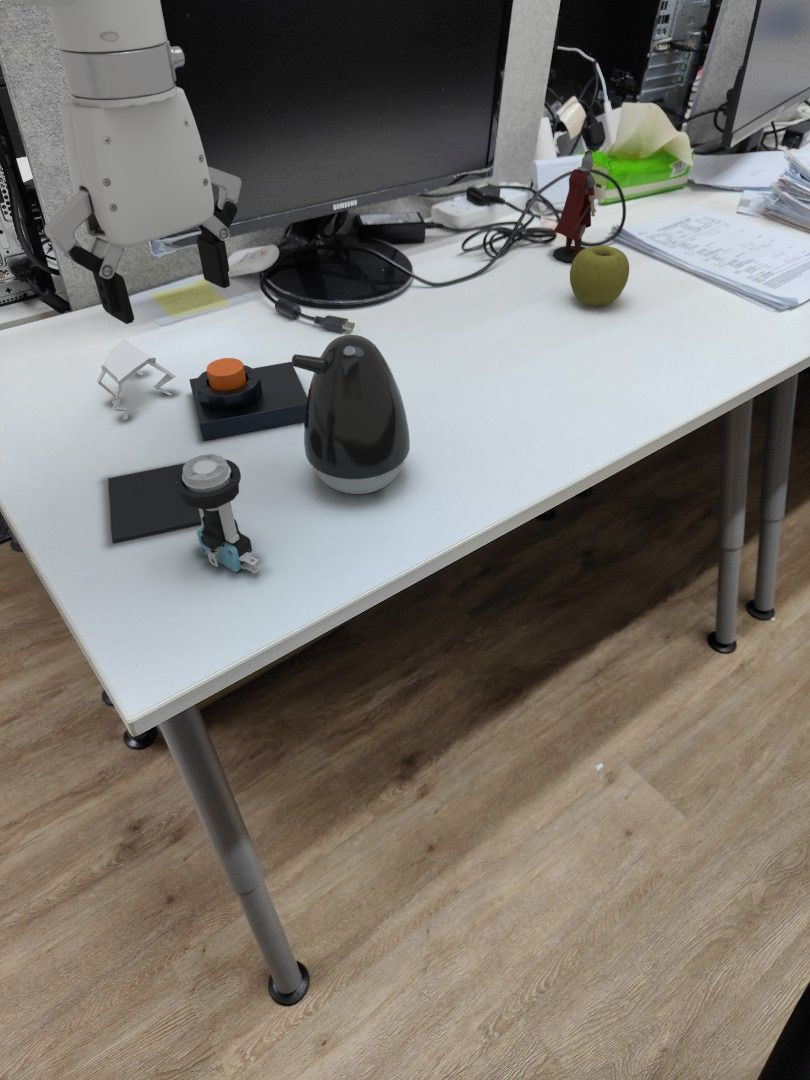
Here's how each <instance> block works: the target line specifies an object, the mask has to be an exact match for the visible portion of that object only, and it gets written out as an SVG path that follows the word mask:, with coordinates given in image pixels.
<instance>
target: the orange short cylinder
mask: <svg viewBox="0 0 810 1080" xmlns="http://www.w3.org/2000/svg"><path fill="white" fill-rule="evenodd" d="M244 365H245V364H244V363H243V361H241V360H240V359H238V358H234V357H224V358H223V357H222V358H219V359H215V360H213V361H211V362H209V364H208V365H207V366H206V370H205V371H207V375H208V379H209V384H210V387H211V388H212V389H214V390H221V391H228V390H233V389H237V388H239V387H241V386H243V385H245V384H246V376H245V370H244Z"/></svg>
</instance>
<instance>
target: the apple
mask: <svg viewBox="0 0 810 1080" xmlns="http://www.w3.org/2000/svg"><path fill="white" fill-rule="evenodd" d="M629 276H630V263H629V258H628V257H627V255H626V254H625V253H624V252H623V251H622V250H620V249H618V248H616V247H614V246H609V245H592V246H588V247H585V249H583V250H582V251H580V252H579V253H578V254H577V255H576V257H575V258H574V260H573V262H572V263H571V265H570V269H569V282H570V287H571V290H572V293H573V295H574V296H575V298H576V299H577V300H578V301H579V302H580V303H581V304H583V305H585V306H590V307H602V306H606V305H610V304H613V302H615V301H616V300H617V299H618V298H619V297H620V296H621V294H622V293H623V291H624V289H625V287H626V285H627V283H628V280H629Z"/></svg>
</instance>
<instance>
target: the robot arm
mask: <svg viewBox="0 0 810 1080" xmlns="http://www.w3.org/2000/svg"><path fill="white" fill-rule="evenodd" d="M0 3H13V4H20V5H21V4H22V5H29V6H35V7H46V8H47V9H46V10H47V13H48V17H49V20H50V24H51V27H52V31H53V34H54V40H55V42H56V46H57V47H58V49H57V50H58V55H59V57H60V61H61V64H62V68H63V72H64V77H65V79H66V82H67V88H68V91H69V95H70V98H69V99H68V98H67V99H64V100H62V101H61V102H60V110H61V113H60V114H61V123H62V125H61V126H62V133H63V134H62V135H63V143H64V149H65V156H66V160H67V161H66V162H67V169H68V172H69V177H70V183H71V187H72V192H73V197H72V198H71V199H70V200H69V201H68V202H67V203H66V204H65V205H64V206H63V207H62V208H61V209H60V210H59V211H58V212H56V214H55V215H53V217H52V218H51V219H50V220H49V221H48V222H47V223H46V224H45V226H44V230H43V231H44V233H45V235H46V236H47V237H48V238H49V239H50V241H51V242H52V243H53V244H54V245H55V246H56V247H57V248H58V249H59V250H60V251H61V252H62V253H63V255H64V256H65V258H67V259H68V260H70V261H72V262H74V263H76V264H78V265H80V266H81V267H83V268H84V269H86V270H88V271H90V272H91V273H92V275H93V278H94V282H95V286H96V289H97V293H98V295H99V300H100V302H101V305H102V308H103V310H104V311H105V312H106V313H107V314H109V315H110V316H111V317H113V318H115V319H116V320H118V321H120V322H122V323H123V324H126V325H129V324H132V323H133V322H134V321H135V315H134V311H133V308H132V304H131V300H130V295H129V293H128V289H127V284H126V281H125V278H124V276H123V275H121V274H119V273H117V269H118V266H119V264H120V261H121V259H122V256H123V254H124V252H125V249H127V248H132V247H135V246H139V245H142V244H146V243H149V242H152V241H156V240H159V239H163V238H165V237H168V236H172V235H175V234H178V233H181V232H184V231H188V230H191V229H194V228H197V229H198V230H199V231H200V234H197V235H196V243H197V249H198V254H199V255H198V256H199V260H200V265H201V271H202V275H203V279H204V280H205V281H207V282H209V283H211V284H213V285H215V286H217V287H220V288H222V289H227V288H229V287H230V286H231V281H230V276H229V272H230V265H229V257H228V252H227V247H226V246H227V245H226V241H227V240H228V239H229V238H230V235H231V232H230V227H231V226H232V224H233V221H234V219H235V218H236V215H237V213H238V207H237V203H238V202H239V198H240V194H241V188H242V178H240V177H239V176H236V175H235V174H231V173H228V172H225V171H223V170H220V169H217V168H214V167H212V166H209V165H208V162H207V157H206V154H205V150H204V145H203V143H202V138H201V135H200V132H199V129H198V126H197V123H196V120H195V116H194V114H193V110H192V109H191V106H190V103H189V101H188V97H187V96H186V93H185V90H184V89H183V88H181V87H179V86H177V84H176V81H177V74H176V70H177V68H180V67H184V66H185V64H186V58H185V53H184V51H183V49H182V48H181V47H180V46H179V45H178V46H177V45H176V46H175V45H174V46H171V42H170V40H168V36H167V30H166V24H165V19H164V15H163V9H162V3H161V0H0ZM212 185H214V186H216V187H217V188H218V199H217V200H216V201H215V200H214V198H215V197H214V192H213V186H212ZM81 225H82V229H83V230H84V231H85V233H86V234H88V235H89V236H92V237H91V241H90V242H89V246H88V248H87V249H86V248H85V247H83V246H82V245H81V244H80V243H79V241H78V240H77V239H76V238H75V232H76V231H77V229H78V228H80V226H81Z"/></svg>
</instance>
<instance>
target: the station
mask: <svg viewBox="0 0 810 1080" xmlns="http://www.w3.org/2000/svg"><path fill="white" fill-rule="evenodd" d="M243 365H244V370H245V376H246V384H245V385H243V386H241V387H239V388H237V389H233V390H228V391H221V390H214V389H212V388H211V387H210V384H209V379H208V375H207V370H205V371H203V372H202V373H200V375H199V376H197V377H194V378H190V379H188V380H189V384H190V390H191V393H192V397H193V401H194V406H195V410H196V414H197V419H198V423H199V427H200V431H201V435H202V440H203V441H210V440H216V439H221V438H226V437H230V436H231V437H232V436H236V435H242V434H246V433H252V432H256V431H263V430H268V429H273V428H278V427H283V426H288V425H293V424H299V423H304V422H305V410H306V403H307V397H308V394H307V393H306V391H305V389H304V386H303V384H302V382H301V380H300V377H299V376H298V373H297V371H296V369H295V367H294V366H293V365H292V361H287V362H286V361H285V362H281V363H275V364H270V365H264V366H257V367H251V366H249V365H245V364H243Z"/></svg>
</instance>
